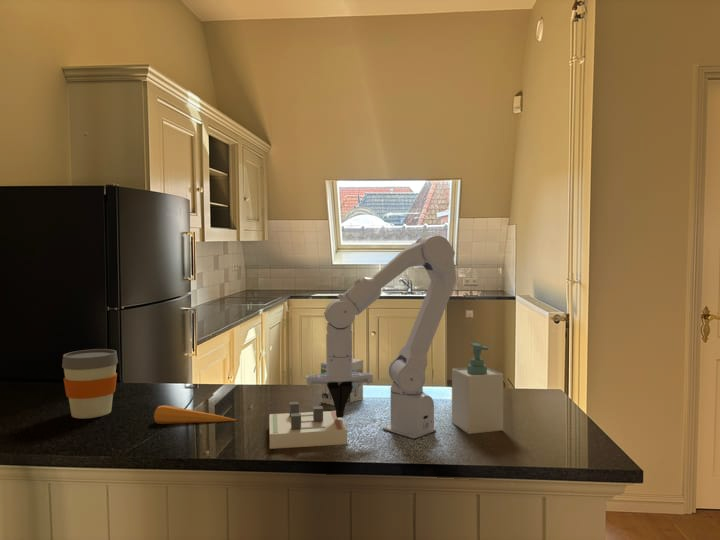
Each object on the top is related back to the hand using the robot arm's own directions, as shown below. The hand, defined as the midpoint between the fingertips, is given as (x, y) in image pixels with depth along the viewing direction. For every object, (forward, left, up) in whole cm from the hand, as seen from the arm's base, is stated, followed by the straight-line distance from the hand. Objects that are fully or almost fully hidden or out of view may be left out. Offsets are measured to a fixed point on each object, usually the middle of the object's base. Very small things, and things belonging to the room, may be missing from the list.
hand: (339, 416), depth 122 cm
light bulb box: (+19, -18, -4) cm, 27 cm away
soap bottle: (-19, -25, -4) cm, 32 cm away
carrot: (+30, +18, -4) cm, 35 cm away
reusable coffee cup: (+55, +34, -4) cm, 65 cm away
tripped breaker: (+3, +4, 0) cm, 5 cm away
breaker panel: (+4, +6, -4) cm, 8 cm away
